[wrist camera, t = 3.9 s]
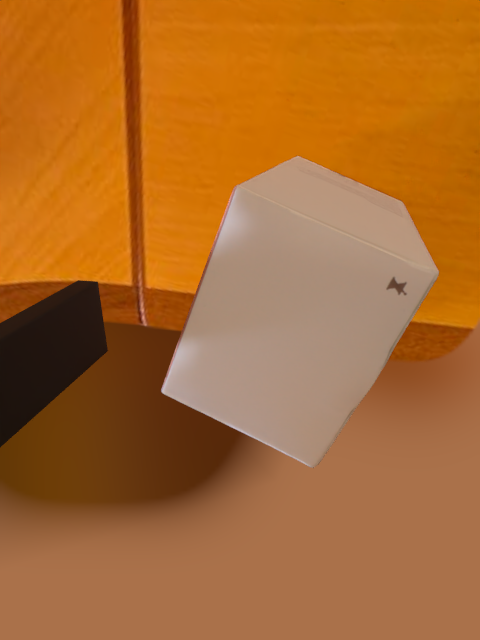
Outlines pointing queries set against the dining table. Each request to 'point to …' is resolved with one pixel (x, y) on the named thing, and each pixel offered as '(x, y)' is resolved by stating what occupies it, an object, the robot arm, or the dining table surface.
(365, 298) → the small box
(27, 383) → the robot arm
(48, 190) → the dining table surface
